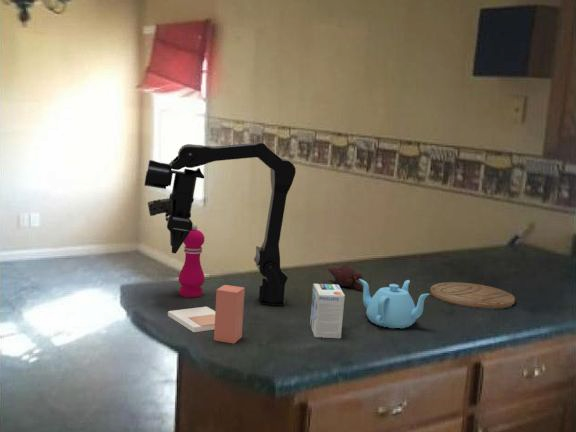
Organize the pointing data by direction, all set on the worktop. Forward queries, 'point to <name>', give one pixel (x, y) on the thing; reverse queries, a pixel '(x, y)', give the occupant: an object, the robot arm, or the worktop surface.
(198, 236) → the pepper mill
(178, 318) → the board
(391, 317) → the teapot
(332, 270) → the maroon lumpy piece
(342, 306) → the light bulb box
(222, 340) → the block
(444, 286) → the trivet
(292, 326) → the worktop surface
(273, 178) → the robot arm
